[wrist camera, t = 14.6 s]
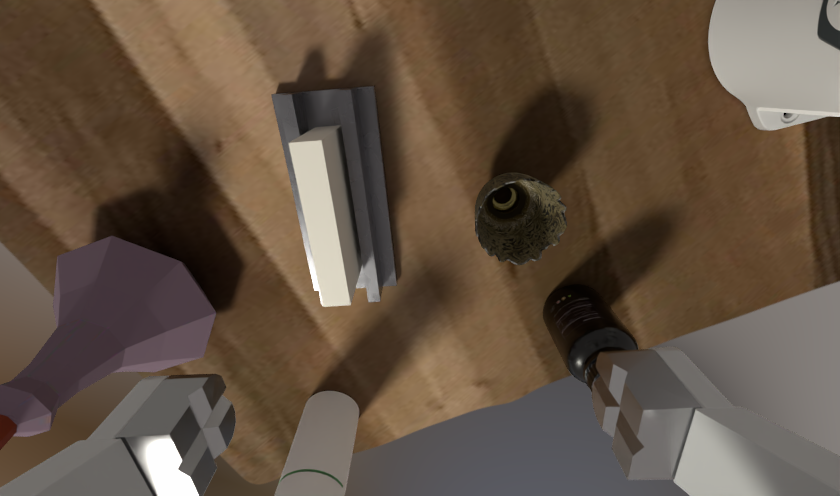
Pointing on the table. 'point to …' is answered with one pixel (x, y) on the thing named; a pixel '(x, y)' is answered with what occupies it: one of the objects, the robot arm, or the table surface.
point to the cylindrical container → (321, 447)
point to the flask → (107, 328)
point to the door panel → (328, 211)
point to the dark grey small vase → (519, 218)
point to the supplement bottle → (584, 330)
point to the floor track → (364, 168)
